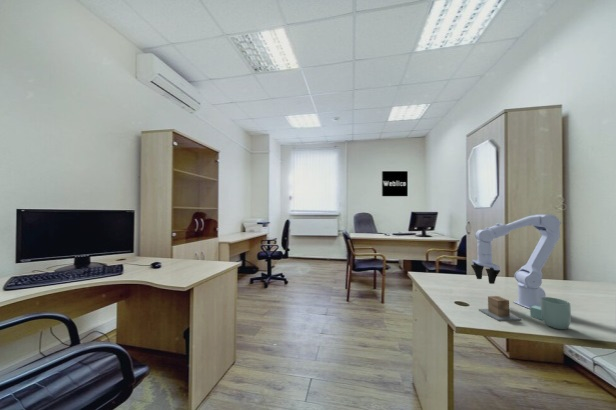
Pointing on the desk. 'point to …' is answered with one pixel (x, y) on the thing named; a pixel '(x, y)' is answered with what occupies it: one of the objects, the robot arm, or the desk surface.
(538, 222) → the robot arm
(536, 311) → the teal block
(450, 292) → the desk surface
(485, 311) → the slate coaster
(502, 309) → the walnut block
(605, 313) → the desk surface
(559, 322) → the cup
